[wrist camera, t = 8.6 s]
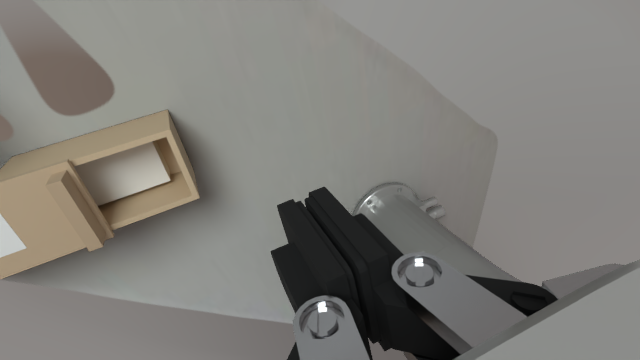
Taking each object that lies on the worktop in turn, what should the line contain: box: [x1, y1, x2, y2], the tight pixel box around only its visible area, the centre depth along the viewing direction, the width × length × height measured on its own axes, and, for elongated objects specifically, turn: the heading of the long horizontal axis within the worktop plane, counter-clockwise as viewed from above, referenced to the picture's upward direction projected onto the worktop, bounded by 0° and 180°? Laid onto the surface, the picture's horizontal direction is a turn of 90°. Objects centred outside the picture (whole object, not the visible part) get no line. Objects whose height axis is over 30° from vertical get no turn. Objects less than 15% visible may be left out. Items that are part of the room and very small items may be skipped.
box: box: [0, 109, 200, 230], centre depth 39 cm, size 16×8×8 cm, turn 103°
